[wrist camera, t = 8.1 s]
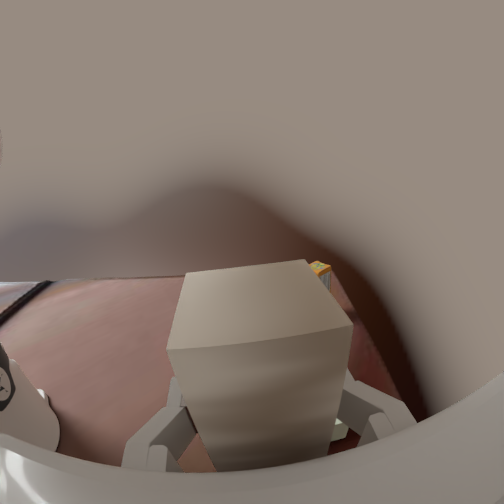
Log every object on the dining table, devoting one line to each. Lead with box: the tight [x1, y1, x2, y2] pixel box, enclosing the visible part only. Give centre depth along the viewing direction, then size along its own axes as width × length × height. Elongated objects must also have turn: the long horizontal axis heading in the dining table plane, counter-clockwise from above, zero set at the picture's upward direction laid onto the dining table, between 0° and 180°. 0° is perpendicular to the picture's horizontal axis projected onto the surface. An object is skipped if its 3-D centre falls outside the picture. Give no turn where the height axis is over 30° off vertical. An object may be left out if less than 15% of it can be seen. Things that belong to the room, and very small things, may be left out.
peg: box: [166, 259, 354, 472], centre depth 9 cm, size 4×4×12 cm
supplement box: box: [309, 261, 331, 293], centre depth 43 cm, size 3×3×10 cm
